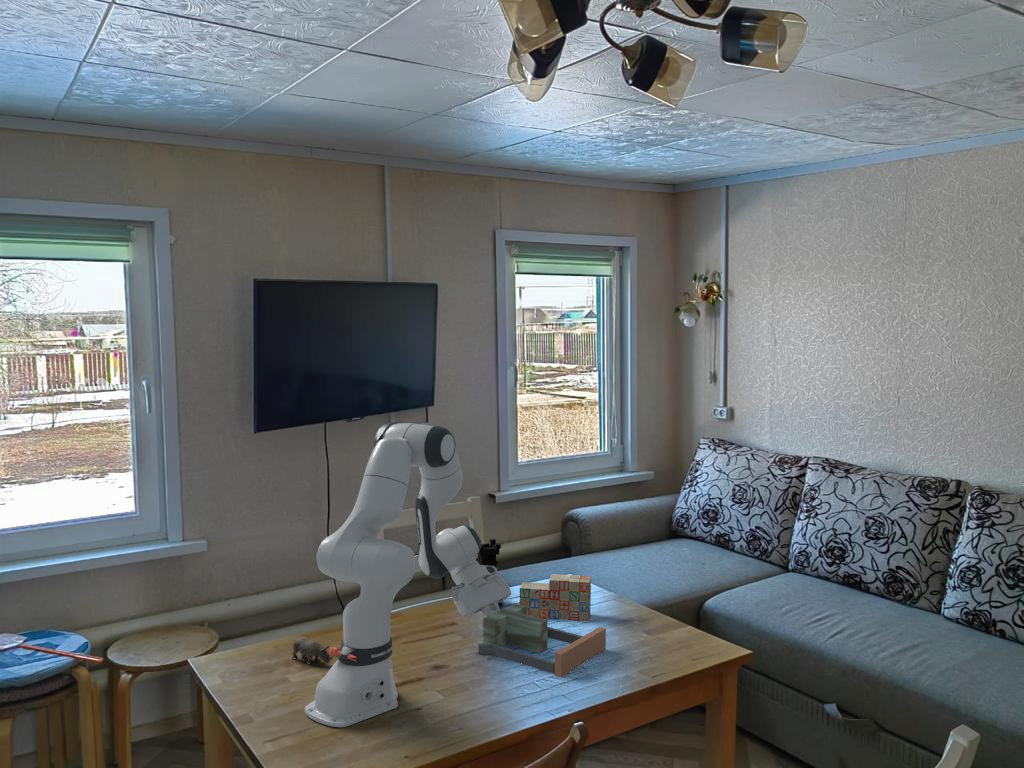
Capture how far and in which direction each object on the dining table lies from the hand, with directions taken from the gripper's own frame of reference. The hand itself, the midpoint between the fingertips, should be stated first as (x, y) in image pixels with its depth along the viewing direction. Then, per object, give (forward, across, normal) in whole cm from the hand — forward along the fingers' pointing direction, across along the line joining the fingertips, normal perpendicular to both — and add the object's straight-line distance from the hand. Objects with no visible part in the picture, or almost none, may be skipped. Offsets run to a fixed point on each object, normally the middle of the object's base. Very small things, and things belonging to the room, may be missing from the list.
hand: (497, 619), depth 235 cm
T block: (+10, 0, -2) cm, 10 cm away
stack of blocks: (+6, +24, +2) cm, 25 cm away
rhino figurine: (-17, -42, +25) cm, 52 cm away
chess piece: (-10, +20, +18) cm, 29 cm away
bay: (+15, 0, -8) cm, 17 cm away
